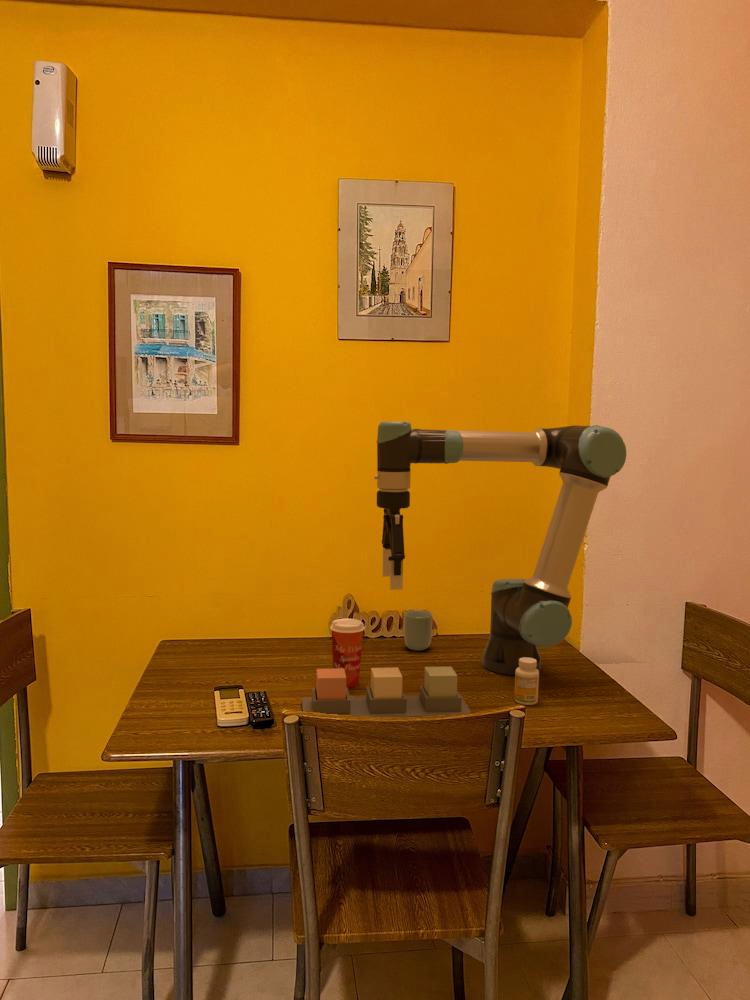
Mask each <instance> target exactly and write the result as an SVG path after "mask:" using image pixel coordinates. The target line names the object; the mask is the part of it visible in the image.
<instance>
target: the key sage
mask: <svg viewBox="0 0 750 1000" xmlns="http://www.w3.org/2000/svg"><path fill="white" fill-rule="evenodd" d="M423 686H424V690H425V691H426V693H427V695H428V697H457V691H458V674H457V673H456V671H455V670H454V669H453V667H452V666H424V681H423Z"/></svg>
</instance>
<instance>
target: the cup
mask: <svg viewBox="0 0 750 1000" xmlns="http://www.w3.org/2000/svg"><path fill="white" fill-rule="evenodd" d="M433 619H434V618H433V613H432V612H430V611H426V610H418V609H417V610H415V609H414V610H412V609H411V610H407V611H406V612H405V613H404V621H403V624H404V626H403V636H404V637H403V638H404V643H405V645H406V647H407V648H408V649H409V650H411V651H418V652H420V651H425V650H427V649H428V648H429V647H430V645H431V642H432V635H433Z"/></svg>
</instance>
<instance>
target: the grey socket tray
mask: <svg viewBox="0 0 750 1000" xmlns="http://www.w3.org/2000/svg"><path fill="white" fill-rule="evenodd" d="M365 689H366V690H365V696H359V695H358V696H350V693H349V687H346V699H339V700H317V693H316V687H311V697H301V709H302V710H303V711H313V712H320V713H326V714H338V715H351V716H371V717H422V716H438V715H450V714H461V713H469V712H472V710H471V709H470V707H469V706H468V704H467V703H466V701H465V699H464V698H463V697H462V695H461V693H459V692H458V691H459V690H457V697H428V695H427V693H426V691H425V690H424V685H419V691H418V694H408V695H407V694H406V695H405V692H404V690H403V689H402V698H383V699H373V696H372V692H371V686H366V687H365ZM302 710H301V711H302ZM303 711H302V712H303Z"/></svg>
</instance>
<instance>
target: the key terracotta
mask: <svg viewBox="0 0 750 1000" xmlns="http://www.w3.org/2000/svg"><path fill="white" fill-rule="evenodd" d="M315 686H316V687H315V688H316V693H317V700H339V699H346V674H345V670H344V668H339V669H333V668H316V685H315Z"/></svg>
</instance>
